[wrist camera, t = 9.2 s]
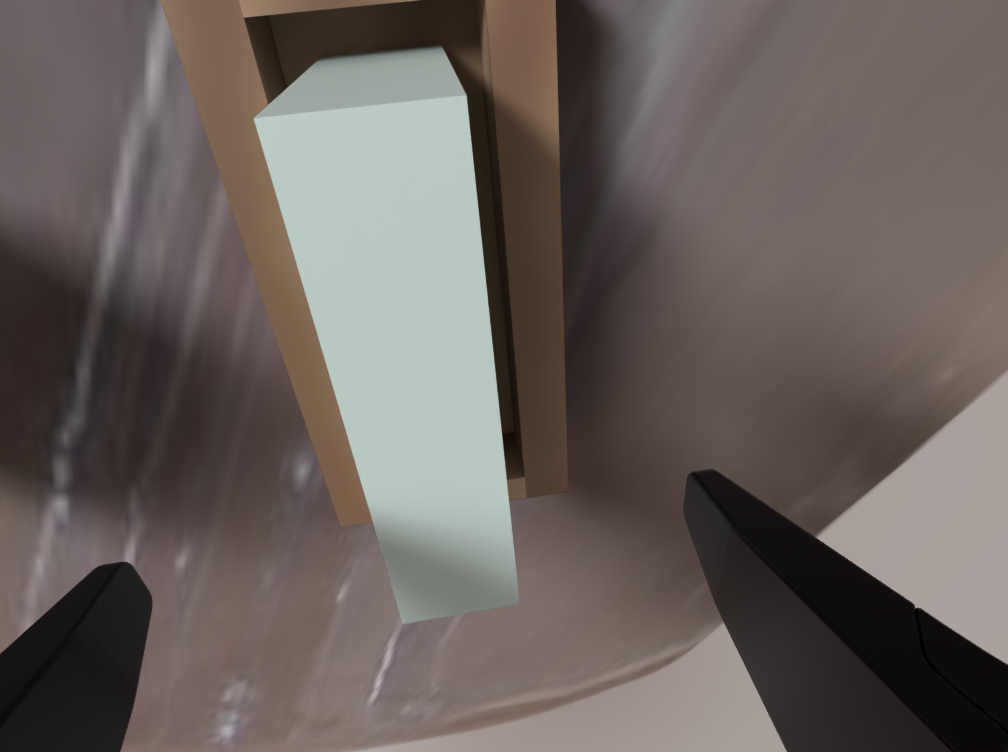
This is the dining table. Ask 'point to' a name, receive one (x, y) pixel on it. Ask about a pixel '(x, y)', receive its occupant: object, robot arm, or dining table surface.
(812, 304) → the dining table surface
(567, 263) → the dining table surface
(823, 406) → the dining table surface
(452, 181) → the pale green rectangular block
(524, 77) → the wooden tray
